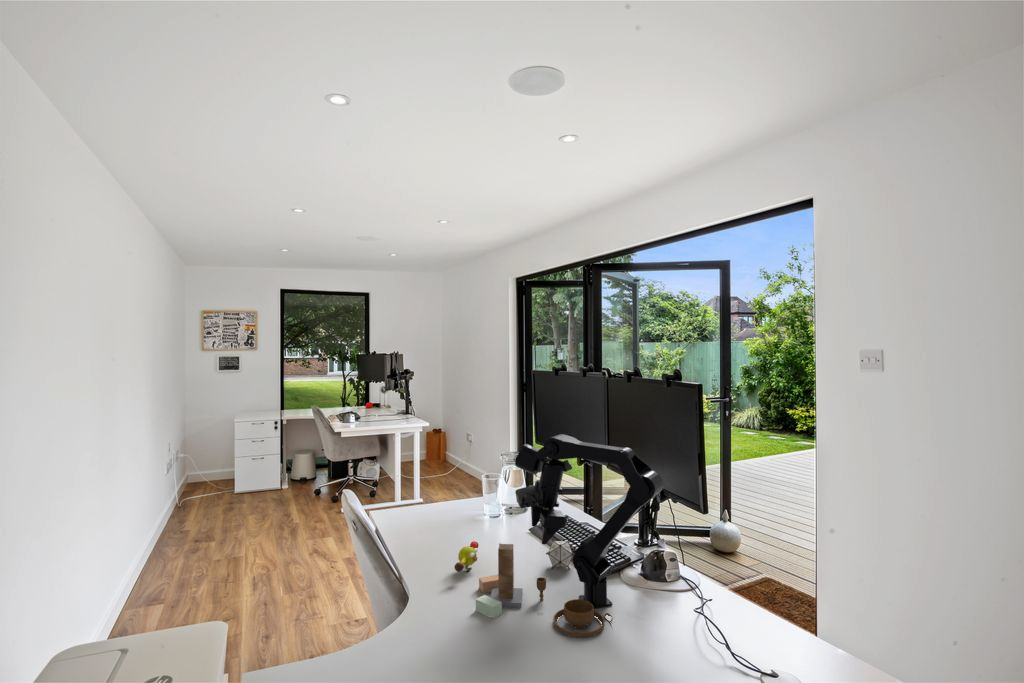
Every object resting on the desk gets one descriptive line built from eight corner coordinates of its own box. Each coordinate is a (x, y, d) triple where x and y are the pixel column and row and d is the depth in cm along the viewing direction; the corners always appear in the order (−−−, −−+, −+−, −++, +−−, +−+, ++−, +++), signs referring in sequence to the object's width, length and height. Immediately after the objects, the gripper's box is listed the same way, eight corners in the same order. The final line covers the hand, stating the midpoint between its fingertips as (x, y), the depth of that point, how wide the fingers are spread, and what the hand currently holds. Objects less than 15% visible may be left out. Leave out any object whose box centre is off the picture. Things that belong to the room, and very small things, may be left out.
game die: (564, 577, 163) (582, 547, 166) (564, 579, 155) (583, 547, 158) (539, 559, 166) (556, 530, 168) (537, 560, 158) (556, 529, 160)
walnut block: (513, 592, 144) (513, 544, 144) (512, 598, 140) (512, 549, 140) (499, 591, 144) (499, 543, 144) (498, 598, 140) (498, 549, 140)
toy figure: (468, 585, 151) (468, 560, 151) (449, 583, 152) (448, 558, 152) (485, 558, 168) (484, 536, 168) (467, 557, 169) (467, 535, 169)
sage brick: (501, 614, 135) (501, 602, 135) (493, 619, 133) (493, 607, 133) (484, 606, 139) (484, 594, 139) (475, 611, 137) (475, 599, 137)
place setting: (544, 643, 123) (544, 616, 123) (533, 600, 143) (533, 577, 143) (621, 638, 125) (621, 612, 125) (599, 596, 145) (599, 574, 145)
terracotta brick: (499, 585, 151) (499, 574, 151) (504, 589, 148) (503, 578, 148) (479, 589, 149) (479, 577, 149) (482, 593, 146) (482, 582, 146)
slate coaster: (522, 592, 146) (522, 588, 146) (521, 607, 138) (521, 603, 138) (492, 592, 146) (492, 587, 146) (489, 607, 138) (489, 602, 138)
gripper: (512, 464, 154) (502, 516, 156) (531, 494, 136) (519, 552, 139) (550, 467, 157) (539, 518, 159) (573, 497, 139) (560, 554, 142)
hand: (538, 534), depth 150 cm, fingers open, 9 cm apart
